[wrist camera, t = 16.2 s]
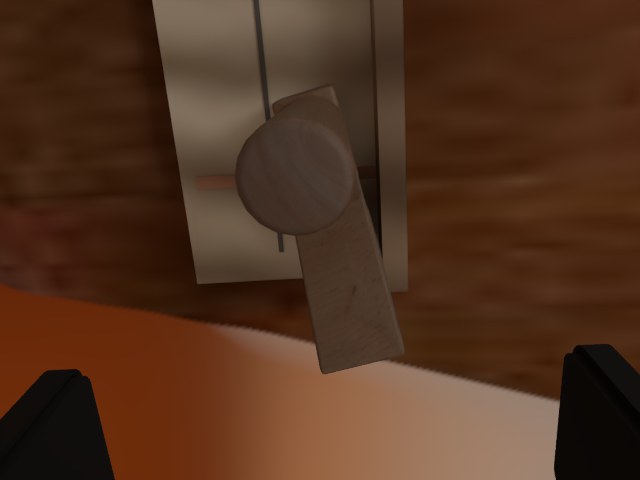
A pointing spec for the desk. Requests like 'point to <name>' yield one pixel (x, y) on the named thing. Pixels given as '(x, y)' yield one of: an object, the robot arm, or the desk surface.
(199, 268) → the marking board
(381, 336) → the wooden block
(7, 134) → the desk surface
